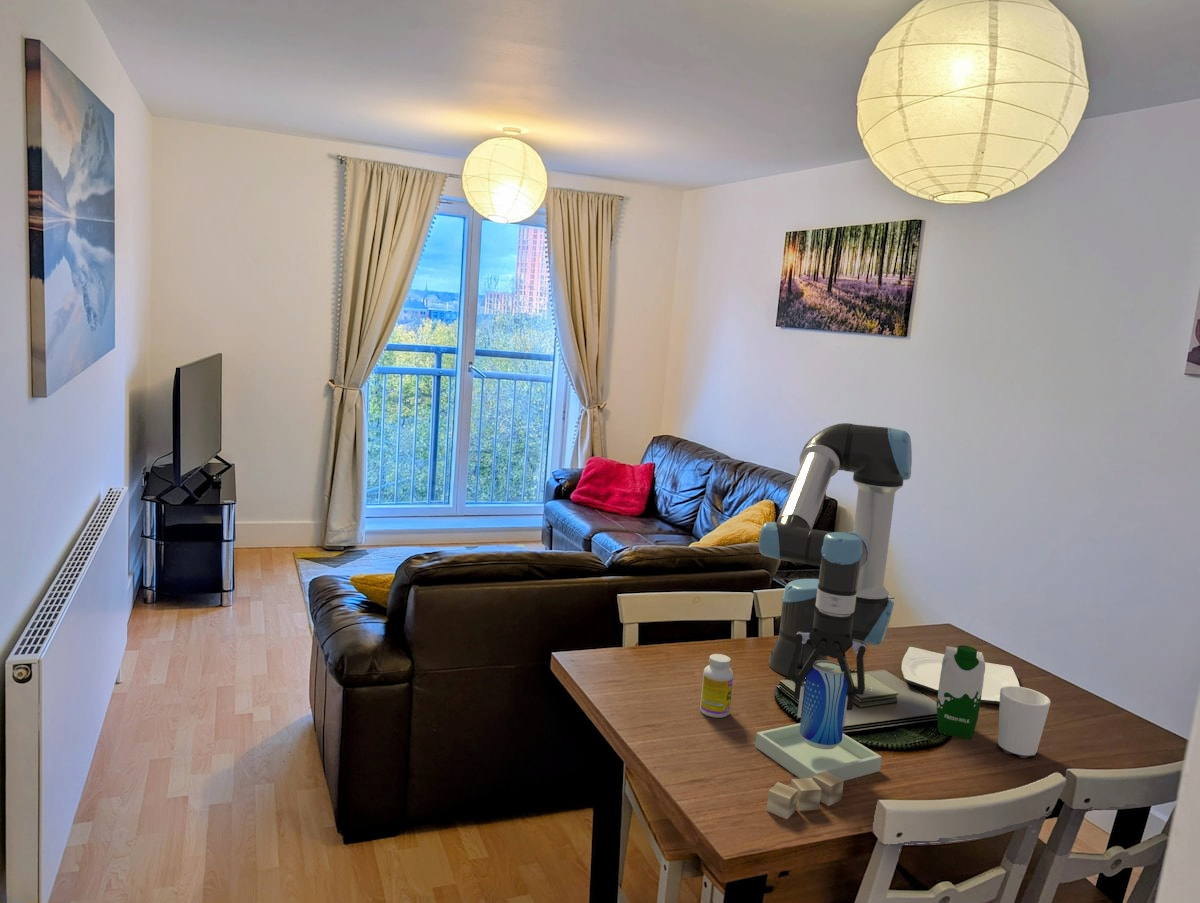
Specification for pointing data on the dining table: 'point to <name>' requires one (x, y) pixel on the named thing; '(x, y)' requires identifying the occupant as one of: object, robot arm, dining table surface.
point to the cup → (1021, 720)
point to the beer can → (823, 705)
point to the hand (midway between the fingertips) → (821, 718)
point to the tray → (817, 754)
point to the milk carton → (960, 691)
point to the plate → (926, 674)
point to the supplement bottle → (717, 687)
